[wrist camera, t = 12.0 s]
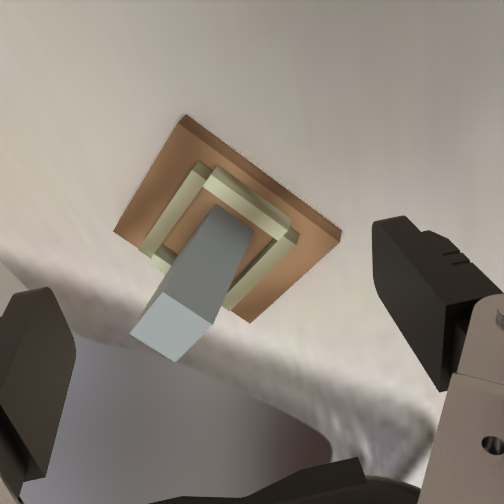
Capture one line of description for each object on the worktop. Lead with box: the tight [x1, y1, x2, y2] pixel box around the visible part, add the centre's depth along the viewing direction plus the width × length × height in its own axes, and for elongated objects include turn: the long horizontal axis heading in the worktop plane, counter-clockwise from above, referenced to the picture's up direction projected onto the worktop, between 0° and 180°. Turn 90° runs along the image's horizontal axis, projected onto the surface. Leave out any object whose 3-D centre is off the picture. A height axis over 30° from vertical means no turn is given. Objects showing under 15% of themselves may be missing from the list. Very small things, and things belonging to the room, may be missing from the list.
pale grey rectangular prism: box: [129, 204, 254, 362], centre depth 33 cm, size 4×5×10 cm
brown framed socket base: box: [113, 115, 342, 323], centre depth 37 cm, size 14×12×3 cm
